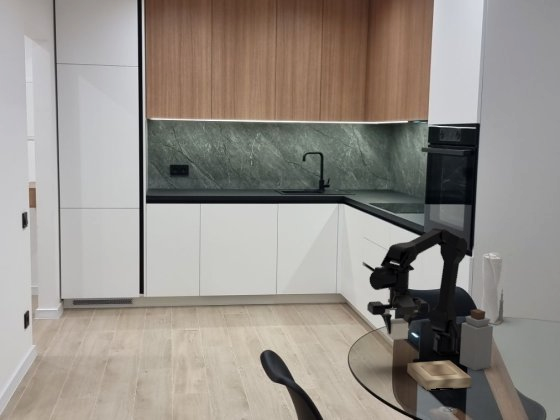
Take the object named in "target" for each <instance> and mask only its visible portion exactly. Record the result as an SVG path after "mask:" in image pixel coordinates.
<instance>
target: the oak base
mask: <svg viewBox="0 0 560 420" xmlns="http://www.w3.org/2000/svg"><path fill="white" fill-rule="evenodd" d="M406 371H407V374H408V375H409V376H410V377H412V379H414V380H415V382H416V383H418V384H419V386H421V387H422V386H423V387H424V388H425V389H426V390H428V391H432V390H431V389H436V388H453V389H461V388H463V389H465V388H471V383H472V380H471V379H472V377H471V375H468V374H467V373H466V372H465V371H463V370H462V369H461V368H460V367H458V366H457V365H456V364H455V363H453V362H452V361H451V360H437V361H435V360H433V361H420V362H419V361H418V362H408V363H407V369H406ZM423 387H422V388H423ZM424 388H423V389H424ZM425 389H424V390H425ZM426 390H425V391H426Z"/></svg>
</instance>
